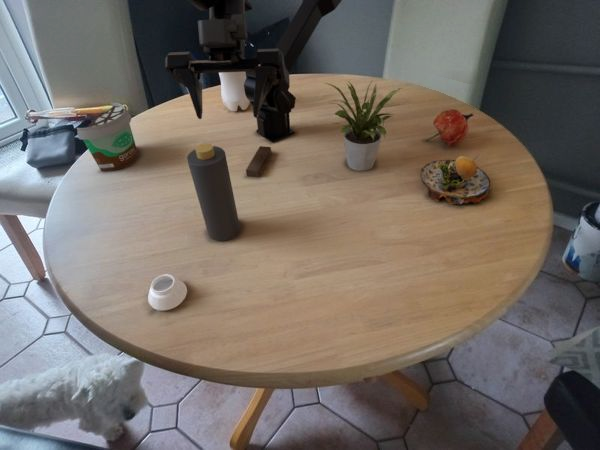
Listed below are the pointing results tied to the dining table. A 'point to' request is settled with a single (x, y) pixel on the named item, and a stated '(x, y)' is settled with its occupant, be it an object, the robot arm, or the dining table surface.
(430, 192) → the multicoloured piece
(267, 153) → the walnut stick
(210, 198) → the grey bottle yellow cap
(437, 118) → the pomegranate
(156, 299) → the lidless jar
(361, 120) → the house plant
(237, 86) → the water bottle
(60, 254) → the dining table surface
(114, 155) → the food container
